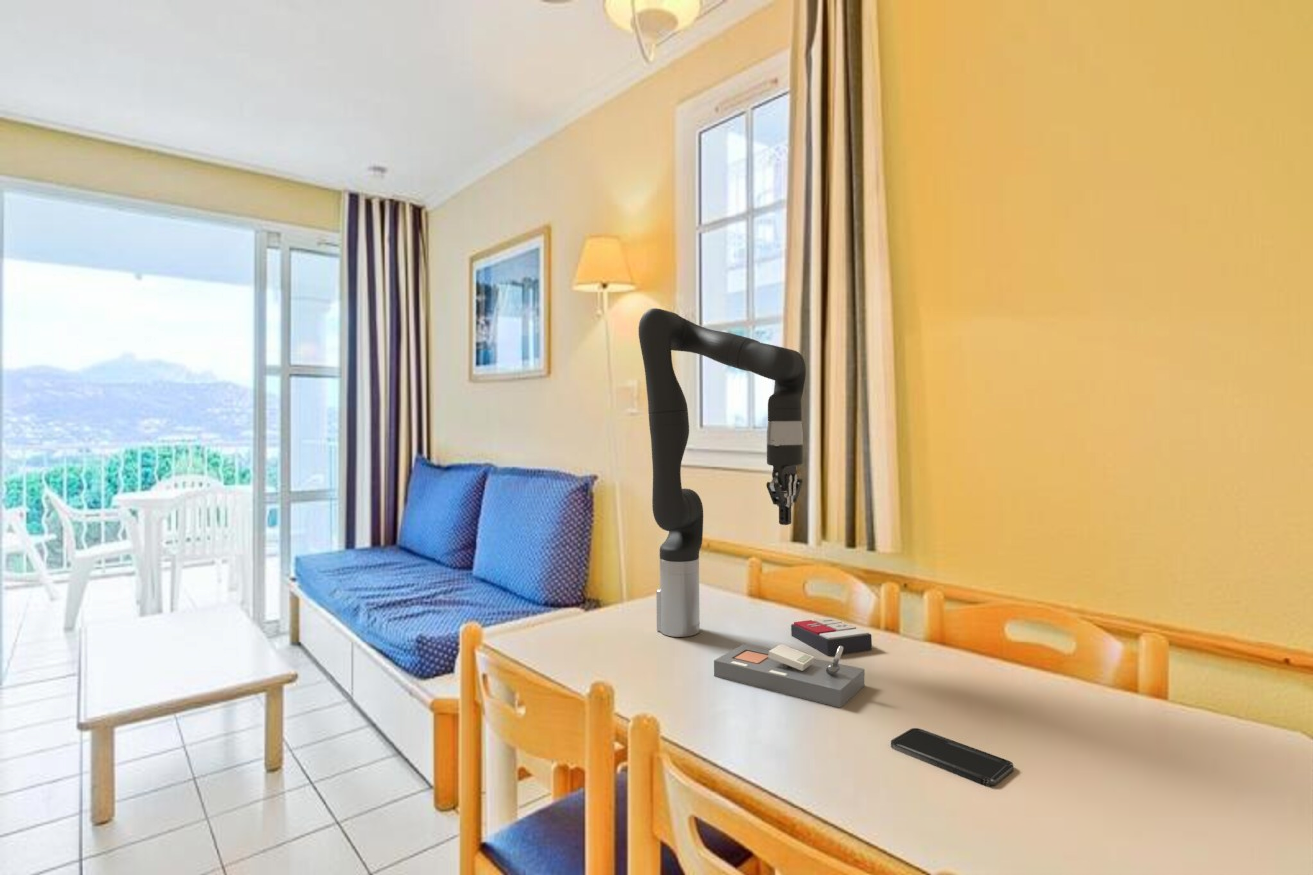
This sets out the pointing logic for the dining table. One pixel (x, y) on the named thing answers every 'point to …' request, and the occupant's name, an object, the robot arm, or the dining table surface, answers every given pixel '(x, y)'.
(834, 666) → the toggle lever
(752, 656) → the push button
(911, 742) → the phone
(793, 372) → the robot arm
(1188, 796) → the dining table surface
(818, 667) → the panel
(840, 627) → the calculator
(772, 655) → the white slab
